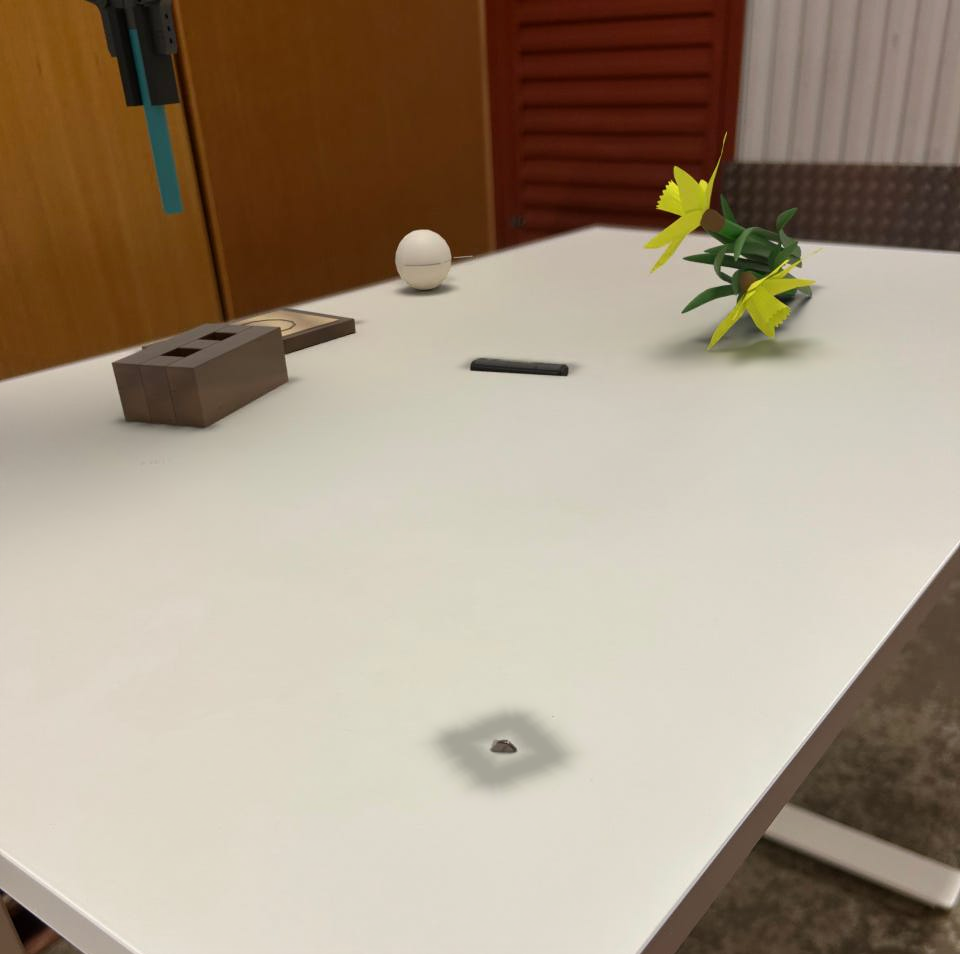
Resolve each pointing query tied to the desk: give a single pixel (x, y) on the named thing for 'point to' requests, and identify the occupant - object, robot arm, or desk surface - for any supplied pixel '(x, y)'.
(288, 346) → the picture frame
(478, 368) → the usb stick
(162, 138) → the pen
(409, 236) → the seamed sphere
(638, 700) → the desk surface
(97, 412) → the desk surface
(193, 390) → the pen block
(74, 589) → the desk surface
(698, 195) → the daffodil flowers
